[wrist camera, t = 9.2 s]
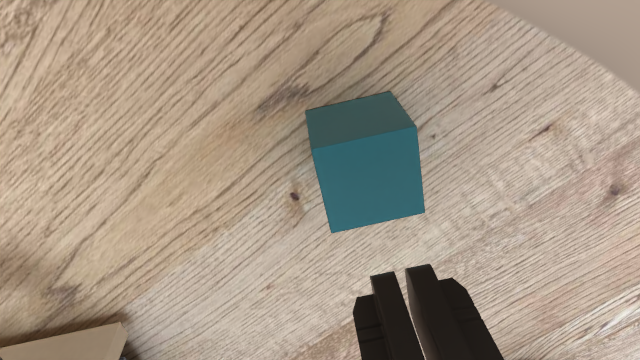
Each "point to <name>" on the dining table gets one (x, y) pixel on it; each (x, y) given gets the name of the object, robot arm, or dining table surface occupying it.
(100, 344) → the drawer
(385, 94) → the teal block
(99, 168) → the dining table surface
